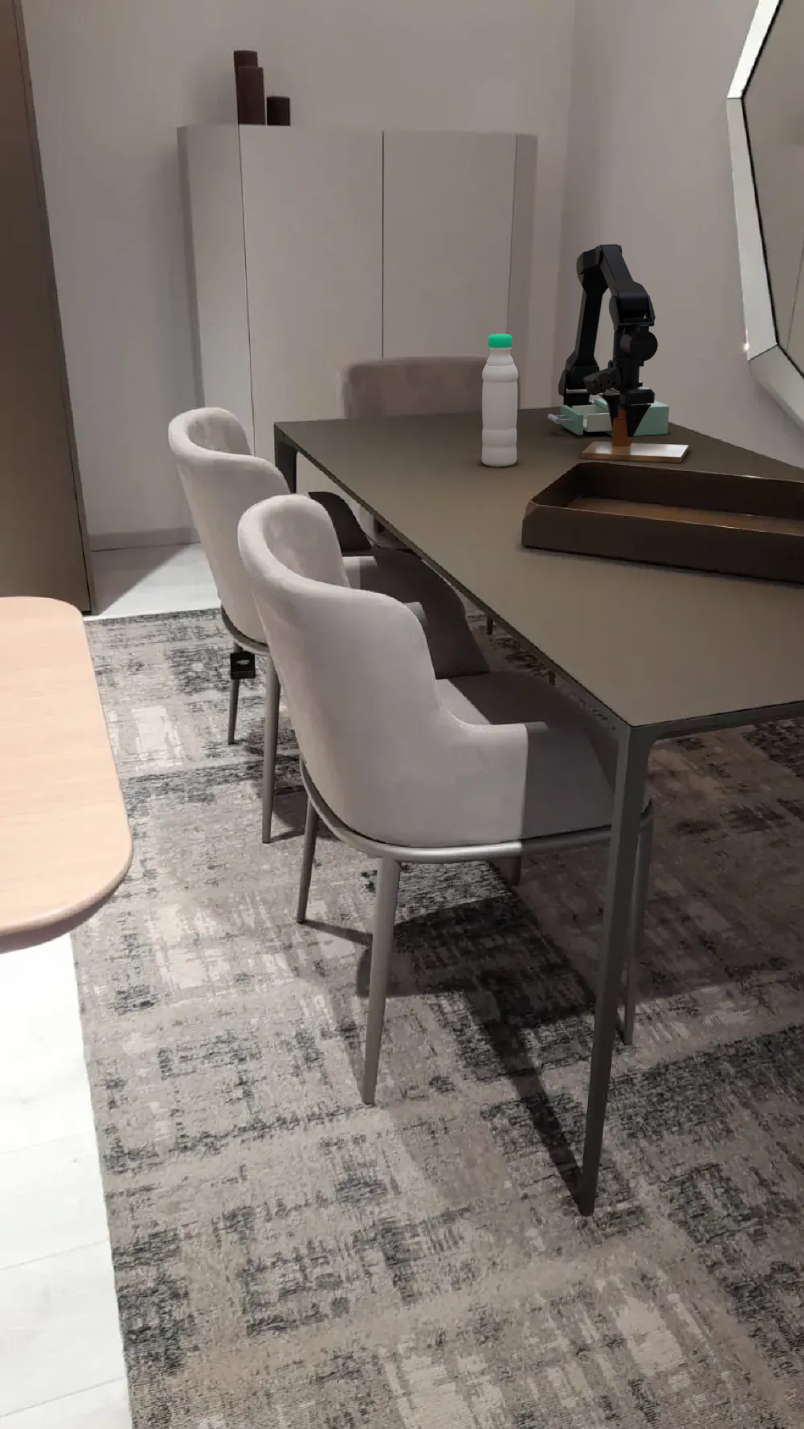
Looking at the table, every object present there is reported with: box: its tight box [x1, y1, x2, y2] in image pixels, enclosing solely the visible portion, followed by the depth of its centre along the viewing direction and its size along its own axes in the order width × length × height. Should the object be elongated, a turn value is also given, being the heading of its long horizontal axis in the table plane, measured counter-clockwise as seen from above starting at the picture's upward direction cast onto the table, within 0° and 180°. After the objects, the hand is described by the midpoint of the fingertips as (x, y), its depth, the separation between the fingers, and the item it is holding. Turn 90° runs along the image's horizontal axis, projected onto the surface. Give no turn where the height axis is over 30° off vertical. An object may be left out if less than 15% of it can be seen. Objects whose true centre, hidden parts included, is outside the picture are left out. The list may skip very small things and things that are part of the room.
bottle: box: [611, 405, 633, 447], centre depth 230 cm, size 4×4×8 cm
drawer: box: [547, 404, 613, 435], centre depth 251 cm, size 16×13×4 cm
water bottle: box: [481, 333, 519, 468], centre depth 219 cm, size 7×7×25 cm
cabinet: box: [593, 398, 670, 437], centre depth 252 cm, size 13×15×6 cm
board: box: [581, 440, 689, 464], centre depth 228 cm, size 20×12×1 cm, turn 69°
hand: (622, 433), depth 231 cm, fingers open, 9 cm apart
